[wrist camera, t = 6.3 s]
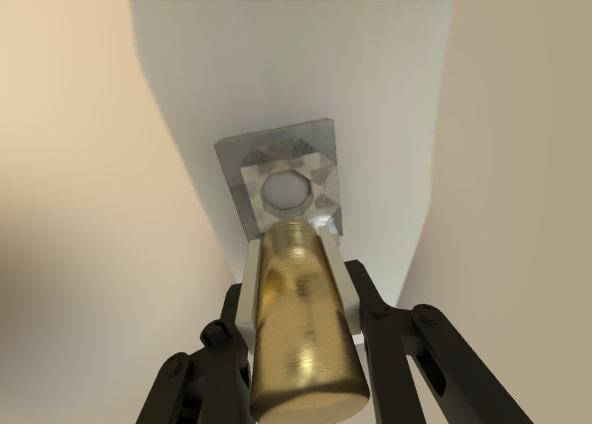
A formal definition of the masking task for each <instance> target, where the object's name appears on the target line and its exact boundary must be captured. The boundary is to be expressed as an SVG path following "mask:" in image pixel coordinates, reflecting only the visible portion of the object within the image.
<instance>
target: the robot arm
mask: <svg viewBox="0 0 592 424" xmlns="http://www.w3.org/2000/svg"><path fill="white" fill-rule="evenodd" d="M318 233H319V239H320V242H321V245H322V248H323V251H324V254H325V257H326V260H327V263H328V266H329V269H330V272H331V275H332V278H333V281H334V284H335V287H336V290H337V293H338V296H339V299H340V303H341V306H342V309H343V312H344V315H345V317H346V320H347V323H348V326H349V329H350V332H351V335H357V334H361V330H362V333H363V336H364V345H365V351H366V357H367V363H368V370H369V377H370V384H371V390H372V397H373V403H374V410H375V417H376V423H377V424H426V421H425V417H424V414H423V411H422V407H421V404H420V401H419V398H418V394H417V391H416V388H415V385H414V381H413V378H412V374H411V371H410V368H409V364H408V361H407V358H406V355H410V356H411V357H412V358H413V360H414V362H415V364H416V366H417V367H418V369H419V371H420V373H421V375H422V376H423V378H424V380H425V381H426V383H427V385H428V387H429V389H430V390H431V392H432V394H433V396H434V398H435V400H436V401H437V403H438V405H439V406H440V408H441V410H442V412H443V414H444V416H445V418H446V419H447V421H448V423H449V424H534V423H533V422H532V421H531V420H530V419H529V417H528V416H527V415H526V414H525V412H524V411H523V410H522V409H521V408H520V406H518V404H517V403H516V402H515V400H514V399H513V398H512V397H511V395H510V394H509V393H508V392H507V391H506V389H505V388H504V387H503V386H502V385H501V383H500V382H499V381H498V380H497V379H496V377H495V376H494V375H493V374H492V372H491V371H490V370H489V369H488V368H487V366H486V365H485V364H484V363H483V362H482V360H481V359H480V358H479V357H478V356H477V354H476V353H475V352H474V351H473V349H472V348H471V347H470V346H469V345H468V343H467V342H466V341H465V340H464V339H463V337H462V336H461V335H460V334H459V332H458V331H457V330H456V329H455V328H454V326H453V325H452V324H451V323H450V321H449V320H448V319H447V318H446V317H445V316H444V314H443V313H442V312H441V311H440V310H439V309H437V308H435V307H433V306H431V305H427V304H419V305H416V306H414V308H413V309H412V310H404V309H398V308H394V307H391V306H390V305H388V304H386V303H385V302H384V301H383V300H382V298H381V296H380V295H379V293H378V291H377V289H376V287H375V285H374V284H373V282H372V280H371V278H370V276H369V274H368V273H367V271H366V269H365V267H364V265H363V264H362V263H360V262H359V261H358V260H352V261H347V262H343V260H342V257H341V255H340V253H339V250H338V248H337V246H336V243H335V241H334V239H333V236H332V234H331V232H330V229H329V227H328V225H325V226H320V227H318ZM262 255H263V246H262V243H261V240H260V239H255V240H251V241H250V243H249V249H248V254H247V260H246V265H245V270H244V276H243V281H242V283H239V284H234V285H231V287H230V288H229V290H228V291H227V294H226V297H225V301H224V305H223V309H222V313H221V317H220V319H218V320H214V321H212V322H211V323H209V324H208V325H207V326H206V327H205V328H204V329H203V331H202V332H201V335H200V340H201V341H202V343H203V344H204V346H205V347H204V348H202V349H201V350H198V351H196V352H195V353H193V354H191V355H189V356H188V354H186V353H184V352H179V353H177V354H174V355H173V356H171V357H170V358H169V359H167V361H166V362H165V363H164V364H163V366H162V367H161V369H160V370H159V372H158V375H157V377H156V379H155V381H154V384H153V386H152V388H151V391H150V393H149V395H148V397H147V399H146V401H145V404H144V406H143V408H142V410H141V413H140V415H139V417H138V419H137V422H136V424H256V421H255V420H254V419H253V418H252V417H251V415H250V398H251V386H252V382H251V372H250V365H249V361H248V360H247V358H248V350H249V352H250V354H251V355H254V350H255V338H256V326H257V314H258V303H259V291H260V279H261V267H262Z"/></svg>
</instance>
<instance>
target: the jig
mask: <svg viewBox="0 0 592 424" xmlns="http://www.w3.org/2000/svg"><path fill="white" fill-rule="evenodd" d="M214 147H215V150H216V153H217V156H218V158H219V161H220V164H221V167H222V170H223V172H224V175H225V178H226V181H227V183H228V186H229V189H230V192H231V195H232V197H233V200H234V203H235V206H236V208H237V211H238V214H239V217H240V220H241V222H242V225H243V228H244V231H245V234H246V236H247V239H248V242H249V243H250V241H251V240H255V239H260V240H261V243H262V246H263V243H264V237H265V234H266V232H267V231H268V230H269V228H270V227H271V226H273V225H274V224H275V223H277V222H279V221H282V220H285V219H300V220H304V221H306V222H308V223H310V224H311V225H312V226H313V227H314V228H315V229H316V231H317V233H318V227H320V226H325V225H328V227H329V229H330V232H331V234H332V236H333V239H334V241H335V243H336V246H337V247H338V246H340V243H339V236H343V230H342V218H341V206H340V194H339V182H338V170H337V158H336V146H335V134H334V122H333V120H331V119H328V118H326V119H321V120H316V121H311V122H306V123H301V124H296V125H291V126H286V127H281V128H277V129H272V130H267V131H262V132H257V133H252V134H247V135H242V136H237V137H232V138H227V139H222V140H219V141H218V142H216V143H215V144H214ZM290 169H294V170H295V171H297V172H299V173H300V174H302V175H303V176H305V177H306V178H308V179H309V182H310V188H311V193H310V194H309V196H308V197H307V198H306V200H305V201H304V202H303V203H302V205H301V206H300V207H297V208H292V209H287V210H282V211H281V210H280V209H278V208H276V207H274V206H272V205H271V204H269V203H267V202H265V199H264V195H263V192H262V188H261V187H262V186H263V184H264V183H265V181H266V179H267V178H268V176H269V175H270V173H275V172H280V171H285V170H290ZM318 235H319V233H318Z"/></svg>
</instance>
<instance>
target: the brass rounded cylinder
mask: <svg viewBox="0 0 592 424" xmlns="http://www.w3.org/2000/svg"><path fill="white" fill-rule="evenodd" d="M369 398H370V391H369V387H368V384H367V381H366V378H365V375H364V372H363V369H362V366H361V363H360V360H359V357H358V354H357V351H356V348H355V344H354V341H353V338H352V335H351V332H350V329H349V326H348V323H347V320H346V317H345V315H344V312H343V309H342V306H341V303H340V299H339V296H338V293H337V290H336V287H335V284H334V281H333V278H332V275H331V272H330V269H329V266H328V263H327V260H326V257H325V254H324V251H323V248H322V245H321V242H320V239H319V235H318V233H317V231H316V229H315V228H314V227H313V226H312V225H311V224H310V223H308V222H306V221H304V220H300V219H285V220H282V221H279V222H277V223H275V224H274V225H273V226H271V227H270V228H269V230H268V231H267V232H266V234H265V237H264V243H263V255H262V267H261V279H260V291H259V303H258V314H257V326H256V338H255V350H254V362H253V374H252V386H251V398H250V415H251V417H252V418H253V419H254V420H255V421H256V422H258V423H259V424H336V423H339V422H341V421H343V420H346V419H348V418H350V417H352V416H353V415H355V414H356V413H358V412H359V411H360V410H361V409H363V408H364V407H365V405H366V404H367V402H368V401H369Z"/></svg>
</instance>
